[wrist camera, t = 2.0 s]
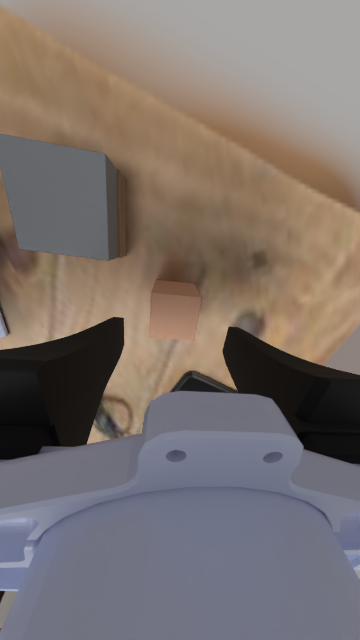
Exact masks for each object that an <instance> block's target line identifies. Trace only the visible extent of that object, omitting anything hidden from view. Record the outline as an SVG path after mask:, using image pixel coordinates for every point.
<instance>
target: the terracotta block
mask: <svg viewBox="0 0 360 640" xmlns="http://www.w3.org/2000/svg"><path fill="white" fill-rule="evenodd" d="M201 301H202V297H201V295H200V293H199V291H198V289H197V287H196V286H195V284H194V283H184V282H174V281H165V280H156V282H155V284H154V287H153V290H152V292H151V311H150V334H149V337H150V338H164V339H178V340H192V341H195V336H196V330H197V324H198V318H199V312H200V306H201Z"/></svg>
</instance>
